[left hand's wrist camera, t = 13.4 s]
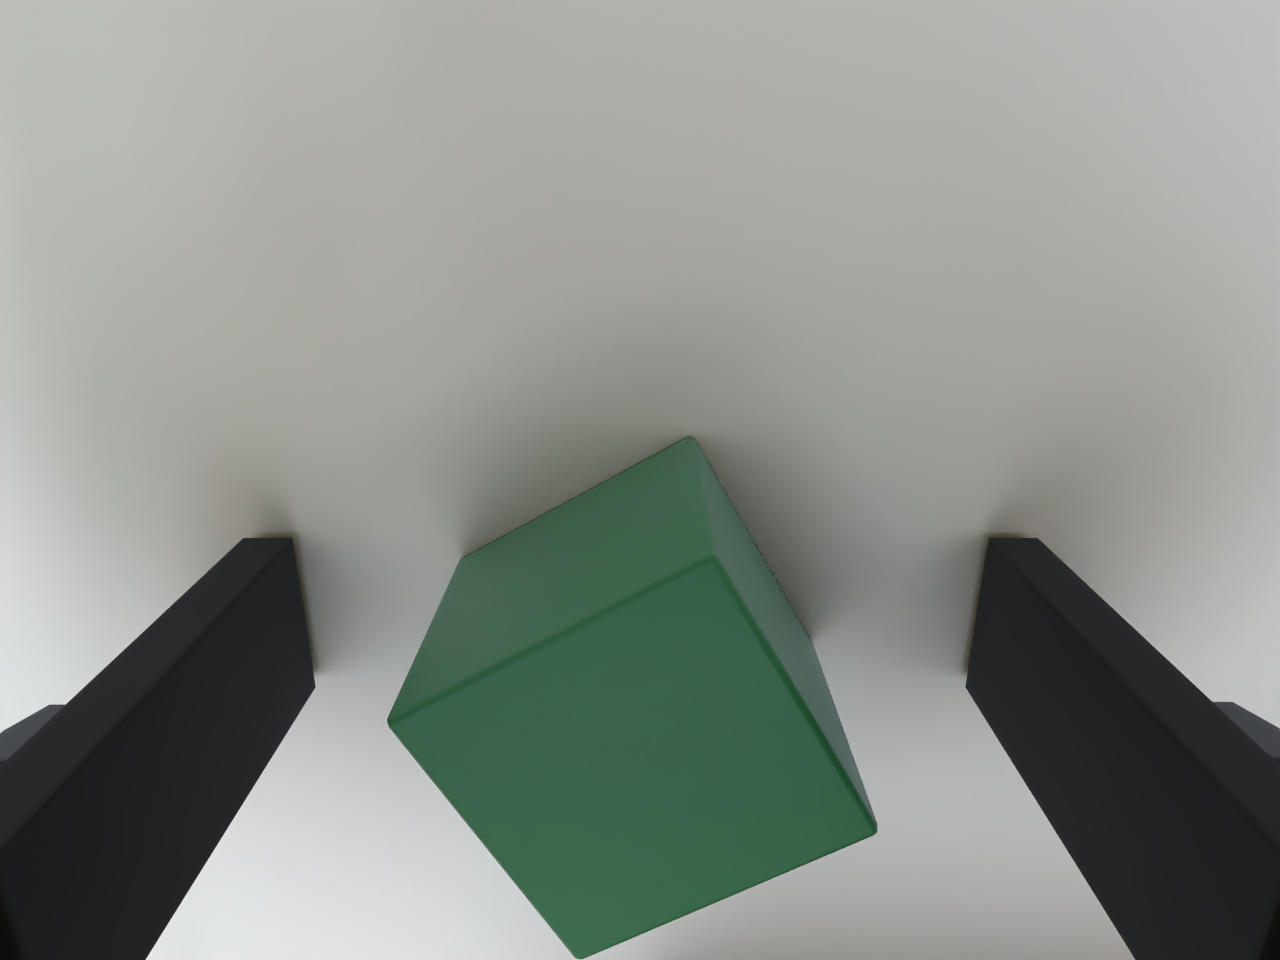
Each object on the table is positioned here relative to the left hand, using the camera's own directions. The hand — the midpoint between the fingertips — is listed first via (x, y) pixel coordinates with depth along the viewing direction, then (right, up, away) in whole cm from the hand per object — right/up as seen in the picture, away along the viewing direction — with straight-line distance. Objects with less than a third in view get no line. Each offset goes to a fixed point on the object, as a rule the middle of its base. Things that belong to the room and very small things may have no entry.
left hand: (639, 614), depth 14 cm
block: (0, 0, 0) cm, 0 cm away
